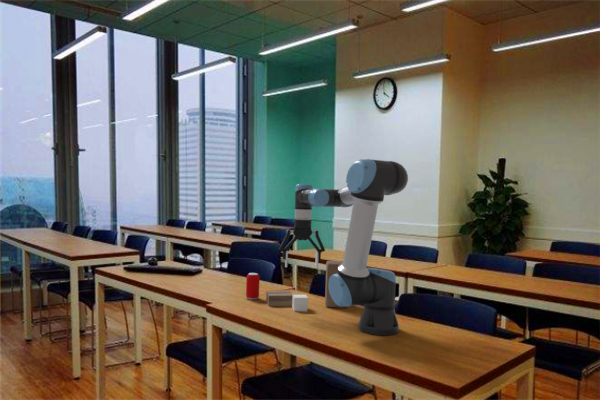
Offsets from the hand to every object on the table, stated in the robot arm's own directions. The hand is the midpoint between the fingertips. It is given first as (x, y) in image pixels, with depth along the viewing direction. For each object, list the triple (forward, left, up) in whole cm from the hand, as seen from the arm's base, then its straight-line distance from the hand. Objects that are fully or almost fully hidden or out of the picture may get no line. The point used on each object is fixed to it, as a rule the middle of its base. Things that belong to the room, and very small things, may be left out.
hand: (301, 267), depth 202 cm
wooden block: (+7, -18, -19) cm, 27 cm away
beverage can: (+21, +20, -19) cm, 35 cm away
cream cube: (0, 0, -19) cm, 19 cm away
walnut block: (+12, +8, -19) cm, 24 cm away
